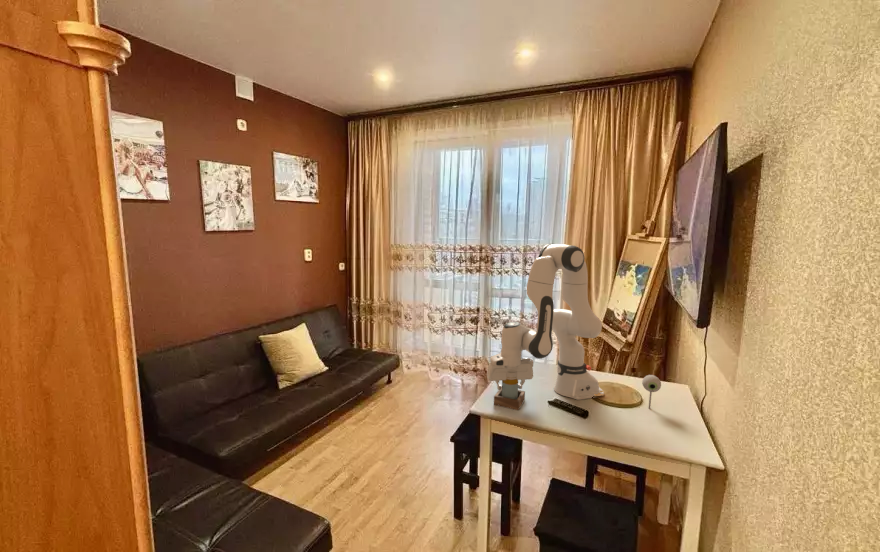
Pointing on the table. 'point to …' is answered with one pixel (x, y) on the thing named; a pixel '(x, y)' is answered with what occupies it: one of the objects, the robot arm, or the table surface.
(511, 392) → the bottle
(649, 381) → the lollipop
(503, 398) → the pocket
